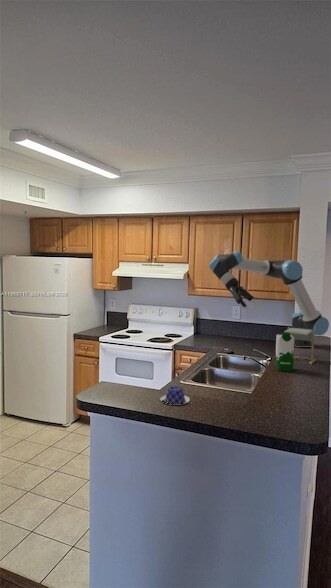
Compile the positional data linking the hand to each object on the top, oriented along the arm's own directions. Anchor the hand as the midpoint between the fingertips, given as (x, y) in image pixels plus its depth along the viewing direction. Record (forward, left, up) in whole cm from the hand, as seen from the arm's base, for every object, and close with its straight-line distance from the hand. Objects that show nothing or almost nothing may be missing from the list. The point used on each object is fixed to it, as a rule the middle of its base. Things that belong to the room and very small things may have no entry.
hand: (254, 310), depth 205 cm
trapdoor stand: (-23, +20, -30) cm, 43 cm away
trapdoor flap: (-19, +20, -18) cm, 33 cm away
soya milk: (0, +17, -30) cm, 35 cm away
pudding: (+71, -7, -31) cm, 78 cm away
